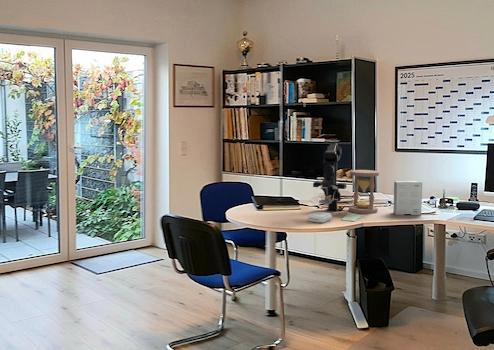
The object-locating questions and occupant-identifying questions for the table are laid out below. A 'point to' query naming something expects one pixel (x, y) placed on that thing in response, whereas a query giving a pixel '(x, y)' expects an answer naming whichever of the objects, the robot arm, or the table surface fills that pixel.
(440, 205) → the eiffel tower figurine
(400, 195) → the hard drive box
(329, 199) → the turner
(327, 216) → the photo printer
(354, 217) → the mat
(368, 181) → the hourglass
